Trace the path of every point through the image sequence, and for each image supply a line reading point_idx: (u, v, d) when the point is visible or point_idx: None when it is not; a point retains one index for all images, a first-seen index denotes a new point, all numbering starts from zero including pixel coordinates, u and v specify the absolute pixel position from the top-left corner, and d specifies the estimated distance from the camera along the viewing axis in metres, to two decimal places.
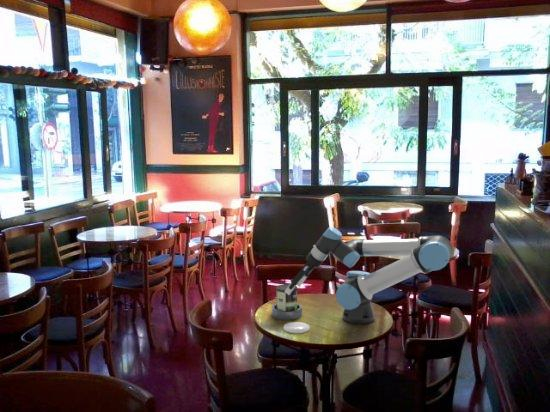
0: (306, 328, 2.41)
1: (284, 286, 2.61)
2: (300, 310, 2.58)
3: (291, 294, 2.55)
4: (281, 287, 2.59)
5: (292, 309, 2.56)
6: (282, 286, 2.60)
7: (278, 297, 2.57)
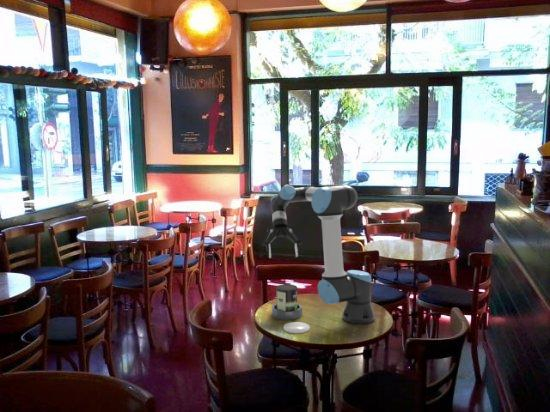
0: (306, 328, 2.41)
1: (284, 286, 2.61)
2: (300, 310, 2.58)
3: (291, 294, 2.55)
4: (281, 287, 2.59)
5: (292, 309, 2.56)
6: (282, 286, 2.60)
7: (278, 297, 2.57)
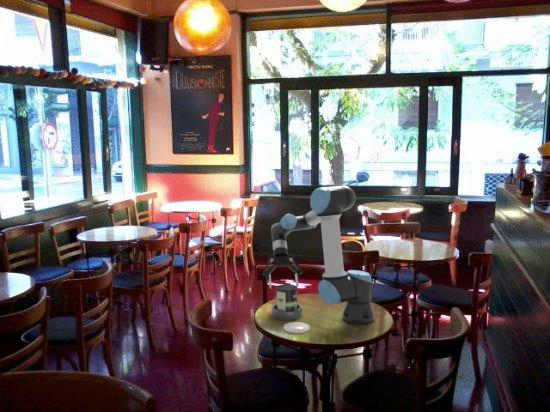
0: (306, 328, 2.41)
1: (284, 286, 2.61)
2: (300, 310, 2.58)
3: (291, 294, 2.55)
4: (281, 287, 2.59)
5: (292, 309, 2.56)
6: (282, 286, 2.60)
7: (278, 297, 2.57)
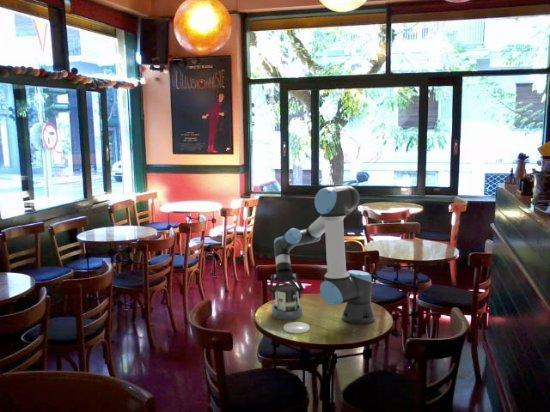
0: (306, 328, 2.41)
1: (284, 286, 2.61)
2: (300, 310, 2.58)
3: (291, 294, 2.55)
4: (281, 287, 2.59)
5: (292, 309, 2.56)
6: (282, 286, 2.60)
7: (278, 297, 2.57)
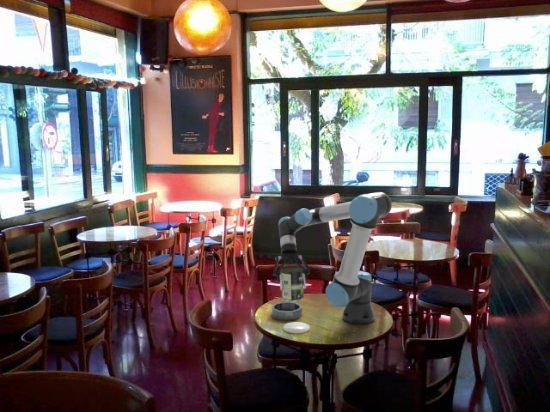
0: (306, 328, 2.41)
1: (289, 268, 2.45)
2: (300, 310, 2.58)
3: (297, 276, 2.39)
4: (286, 269, 2.43)
5: (298, 292, 2.40)
6: (287, 268, 2.45)
7: (283, 279, 2.41)
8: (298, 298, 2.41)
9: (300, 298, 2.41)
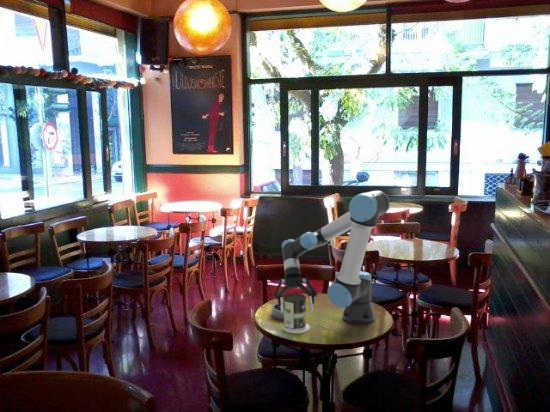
0: (306, 328, 2.41)
1: (292, 296, 2.43)
2: None
3: (299, 304, 2.37)
4: (288, 297, 2.41)
5: (300, 321, 2.39)
6: (290, 296, 2.43)
7: (285, 308, 2.39)
8: (300, 326, 2.39)
9: (302, 326, 2.40)
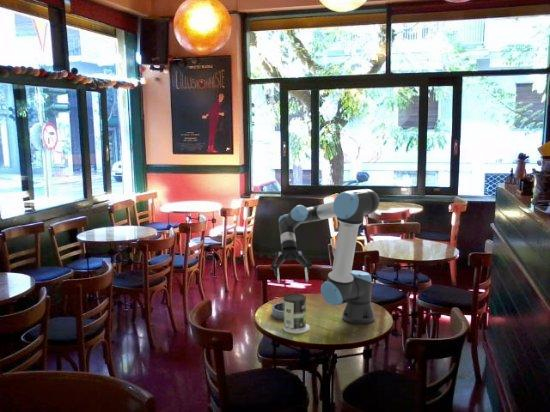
0: (306, 328, 2.41)
1: (292, 296, 2.43)
2: None
3: (300, 304, 2.37)
4: (288, 297, 2.41)
5: (301, 321, 2.39)
6: (290, 296, 2.43)
7: (286, 308, 2.39)
8: (301, 326, 2.39)
9: (302, 326, 2.40)
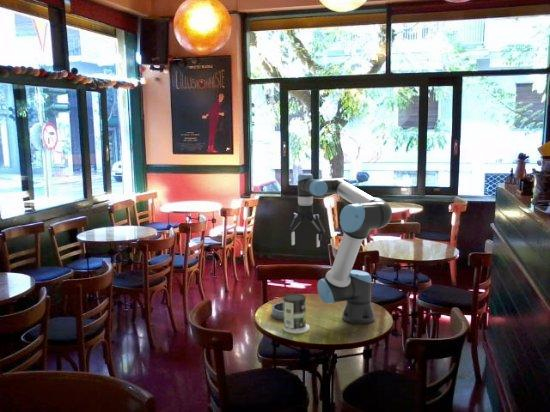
0: (306, 328, 2.41)
1: (291, 296, 2.43)
2: None
3: (299, 305, 2.37)
4: (288, 297, 2.41)
5: (300, 321, 2.39)
6: (289, 296, 2.43)
7: (285, 308, 2.39)
8: (301, 326, 2.39)
9: (302, 326, 2.40)
